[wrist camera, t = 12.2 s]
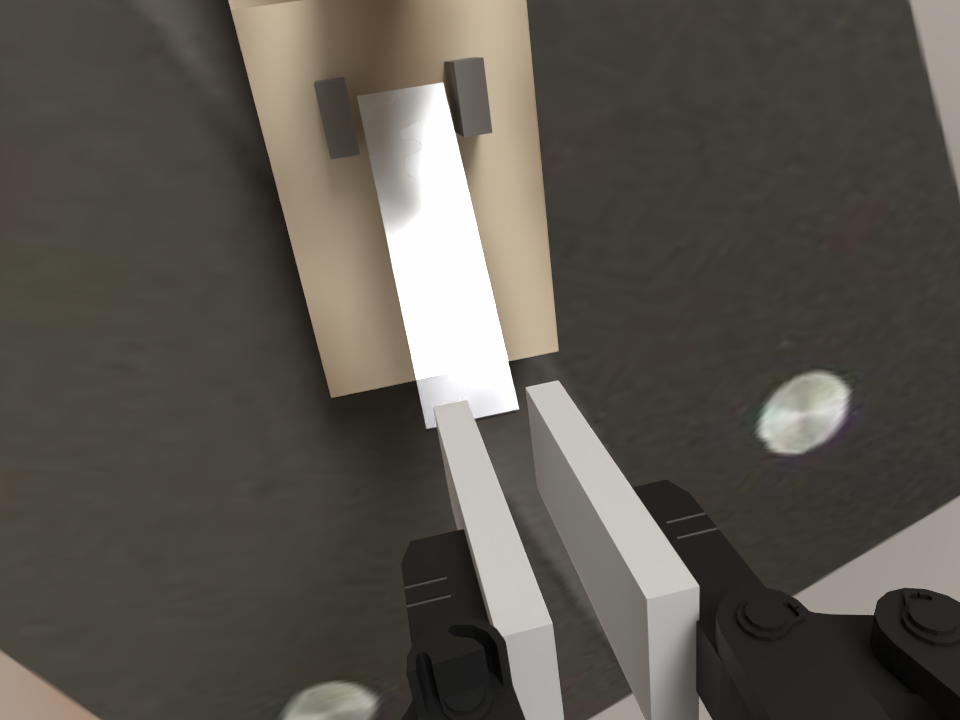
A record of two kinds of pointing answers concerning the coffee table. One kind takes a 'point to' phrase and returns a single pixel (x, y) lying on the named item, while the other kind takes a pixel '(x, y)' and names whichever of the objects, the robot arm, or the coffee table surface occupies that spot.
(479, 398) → the lever
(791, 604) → the robot arm
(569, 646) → the coffee table surface
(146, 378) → the coffee table surface
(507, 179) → the block
